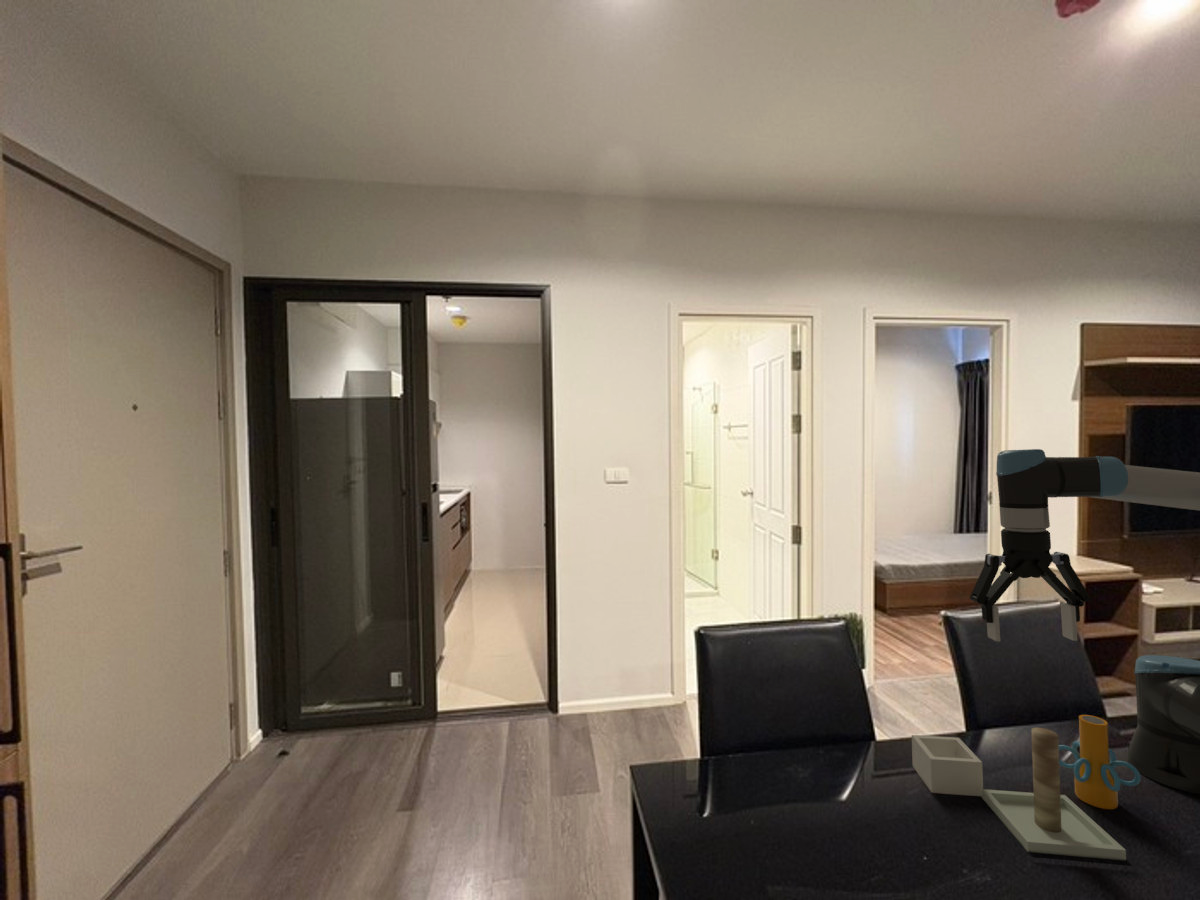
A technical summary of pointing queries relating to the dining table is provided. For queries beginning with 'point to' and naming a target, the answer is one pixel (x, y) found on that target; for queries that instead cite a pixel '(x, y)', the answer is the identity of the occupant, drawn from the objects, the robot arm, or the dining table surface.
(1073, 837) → the tray
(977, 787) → the hollow square block
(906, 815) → the dining table surface
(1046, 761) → the dowel
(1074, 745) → the tube with teal loops
